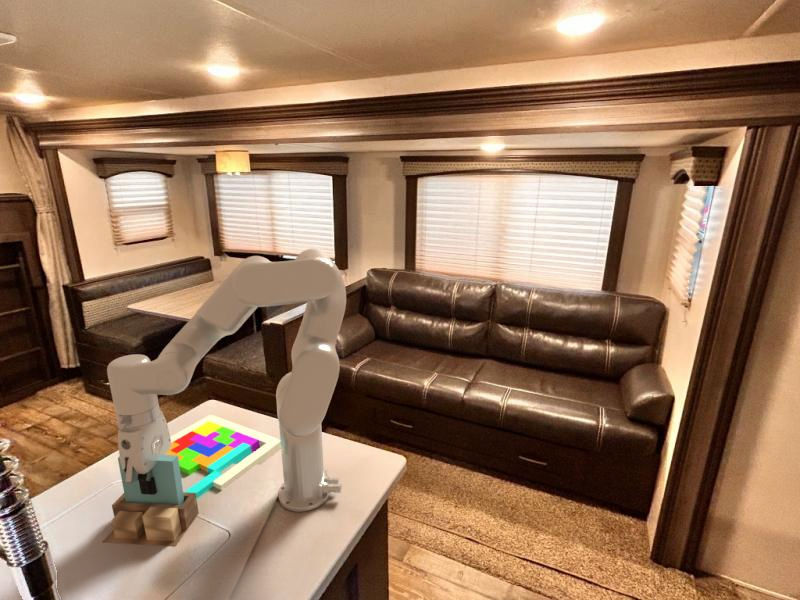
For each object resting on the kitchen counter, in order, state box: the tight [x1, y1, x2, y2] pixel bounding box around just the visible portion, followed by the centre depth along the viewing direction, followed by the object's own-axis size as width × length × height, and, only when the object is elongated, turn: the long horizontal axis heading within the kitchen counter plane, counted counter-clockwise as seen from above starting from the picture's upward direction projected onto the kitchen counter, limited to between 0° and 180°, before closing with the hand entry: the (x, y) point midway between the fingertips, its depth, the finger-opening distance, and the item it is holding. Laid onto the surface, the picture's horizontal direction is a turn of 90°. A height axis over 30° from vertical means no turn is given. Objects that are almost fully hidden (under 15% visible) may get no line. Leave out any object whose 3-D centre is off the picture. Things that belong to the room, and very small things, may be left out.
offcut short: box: [111, 511, 145, 539], centre depth 89 cm, size 5×3×4 cm, turn 86°
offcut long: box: [142, 507, 181, 541], centre depth 88 cm, size 6×3×6 cm, turn 86°
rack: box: [101, 491, 199, 547], centre depth 90 cm, size 16×9×6 cm, turn 86°
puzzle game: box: [166, 414, 281, 500], centre depth 114 cm, size 30×3×30 cm
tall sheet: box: [117, 455, 184, 505], centre depth 91 cm, size 12×2×16 cm, turn 86°
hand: (153, 488), depth 91 cm, fingers closed on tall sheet, 1 cm apart
